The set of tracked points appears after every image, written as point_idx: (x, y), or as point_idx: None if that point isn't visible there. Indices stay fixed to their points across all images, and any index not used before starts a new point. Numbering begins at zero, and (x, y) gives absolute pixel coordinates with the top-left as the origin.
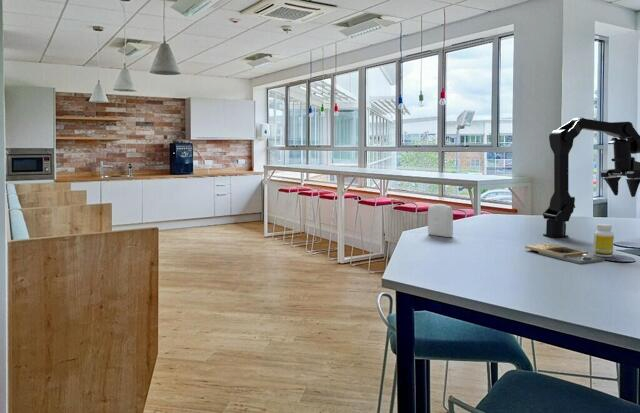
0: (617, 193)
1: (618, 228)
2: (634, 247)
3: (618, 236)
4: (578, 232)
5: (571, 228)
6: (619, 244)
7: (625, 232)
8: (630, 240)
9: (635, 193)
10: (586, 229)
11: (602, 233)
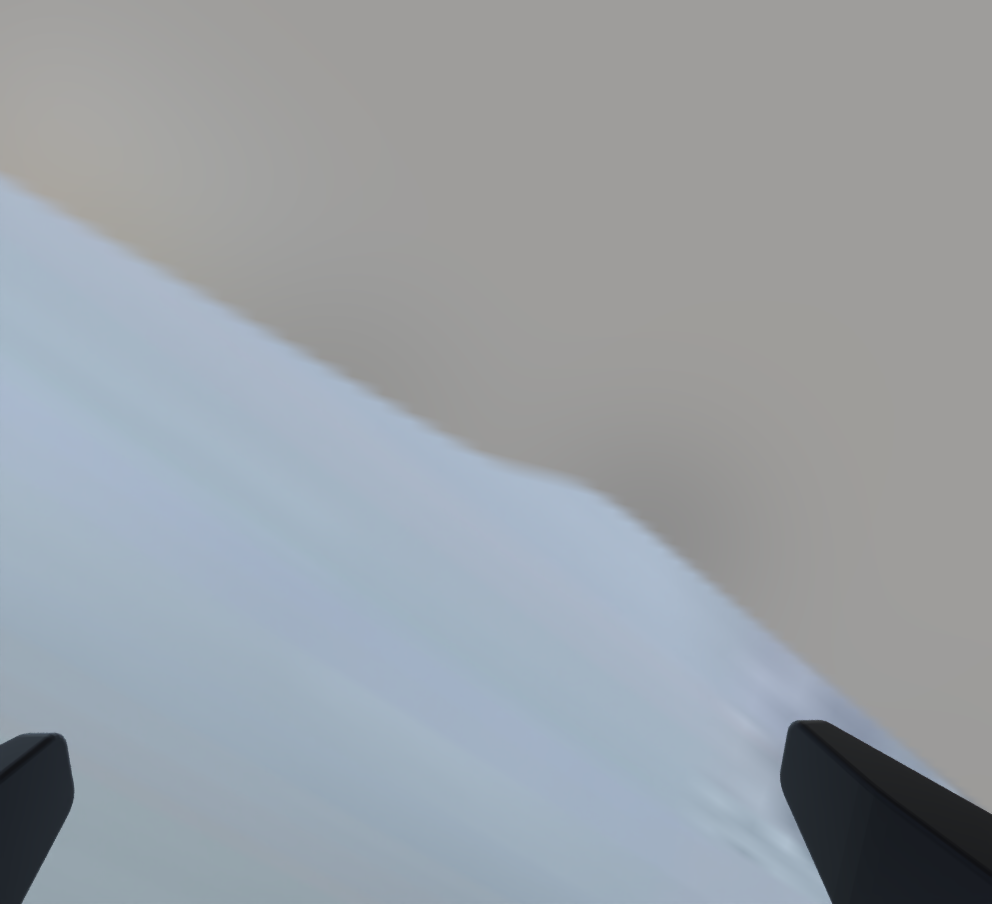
0: (28, 783)
1: (137, 321)
2: None
3: (582, 644)
4: (299, 853)
5: None
6: None
7: (405, 436)
8: (767, 670)
9: (915, 787)
10: (139, 692)
11: None
